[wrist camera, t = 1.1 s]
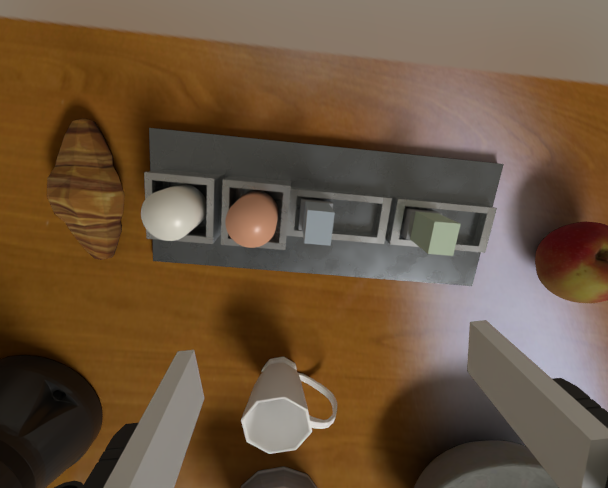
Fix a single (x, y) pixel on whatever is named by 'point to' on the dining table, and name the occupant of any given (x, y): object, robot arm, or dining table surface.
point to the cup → (281, 408)
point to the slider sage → (430, 231)
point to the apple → (575, 262)
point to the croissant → (87, 189)
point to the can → (279, 479)
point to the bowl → (486, 467)
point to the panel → (333, 187)
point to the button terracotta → (252, 219)
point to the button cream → (173, 211)
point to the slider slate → (316, 221)
